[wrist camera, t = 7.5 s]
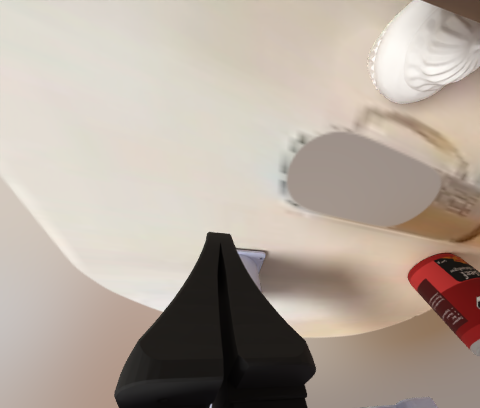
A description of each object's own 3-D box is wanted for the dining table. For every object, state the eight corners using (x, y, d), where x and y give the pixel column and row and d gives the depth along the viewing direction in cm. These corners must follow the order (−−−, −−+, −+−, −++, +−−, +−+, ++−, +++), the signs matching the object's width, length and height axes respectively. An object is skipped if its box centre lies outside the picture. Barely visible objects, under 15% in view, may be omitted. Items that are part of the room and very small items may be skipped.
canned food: (466, 258, 32) (563, 331, 23) (423, 286, 36) (492, 359, 27) (439, 245, 30) (537, 322, 21) (396, 277, 33) (463, 354, 24)
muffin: (399, 103, 18) (485, 117, 12) (336, 93, 17) (397, 104, 11) (445, 10, 15) (595, -32, 9) (371, -7, 14) (482, -66, 8)
